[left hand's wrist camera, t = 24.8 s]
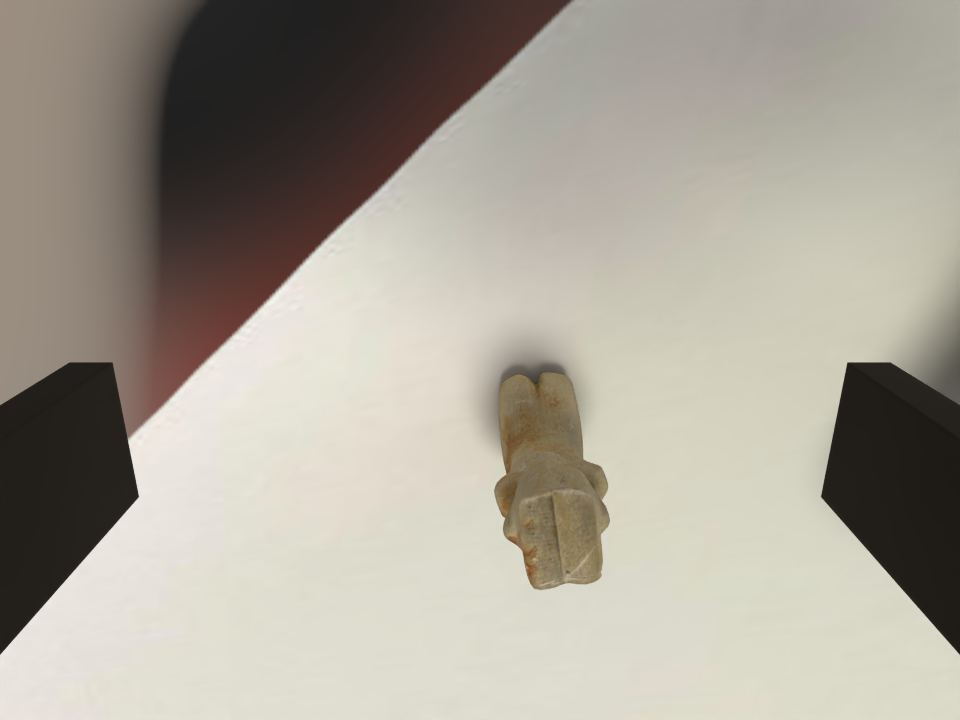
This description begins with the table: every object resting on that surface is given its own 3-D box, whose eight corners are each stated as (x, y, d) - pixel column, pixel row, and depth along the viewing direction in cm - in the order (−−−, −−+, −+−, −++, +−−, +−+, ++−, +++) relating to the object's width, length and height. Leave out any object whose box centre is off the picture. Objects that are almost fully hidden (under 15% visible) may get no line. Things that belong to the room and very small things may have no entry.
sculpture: (582, 362, 42) (633, 489, 28) (583, 465, 45) (630, 628, 31) (488, 368, 43) (492, 496, 28) (494, 470, 45) (501, 634, 31)
